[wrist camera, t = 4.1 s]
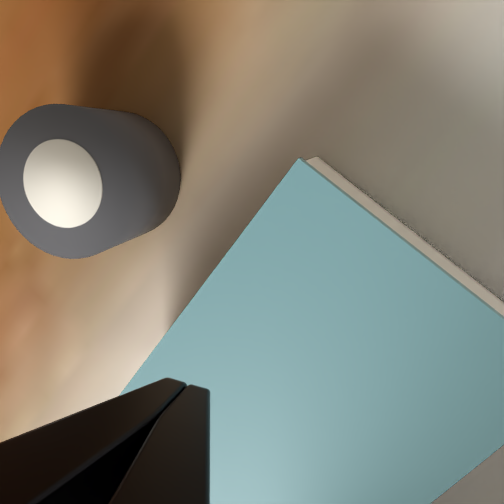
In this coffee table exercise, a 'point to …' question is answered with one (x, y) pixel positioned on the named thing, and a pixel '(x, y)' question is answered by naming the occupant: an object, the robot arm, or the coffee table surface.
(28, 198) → the grey cylinder white cap
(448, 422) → the lid
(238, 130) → the coffee table surface
